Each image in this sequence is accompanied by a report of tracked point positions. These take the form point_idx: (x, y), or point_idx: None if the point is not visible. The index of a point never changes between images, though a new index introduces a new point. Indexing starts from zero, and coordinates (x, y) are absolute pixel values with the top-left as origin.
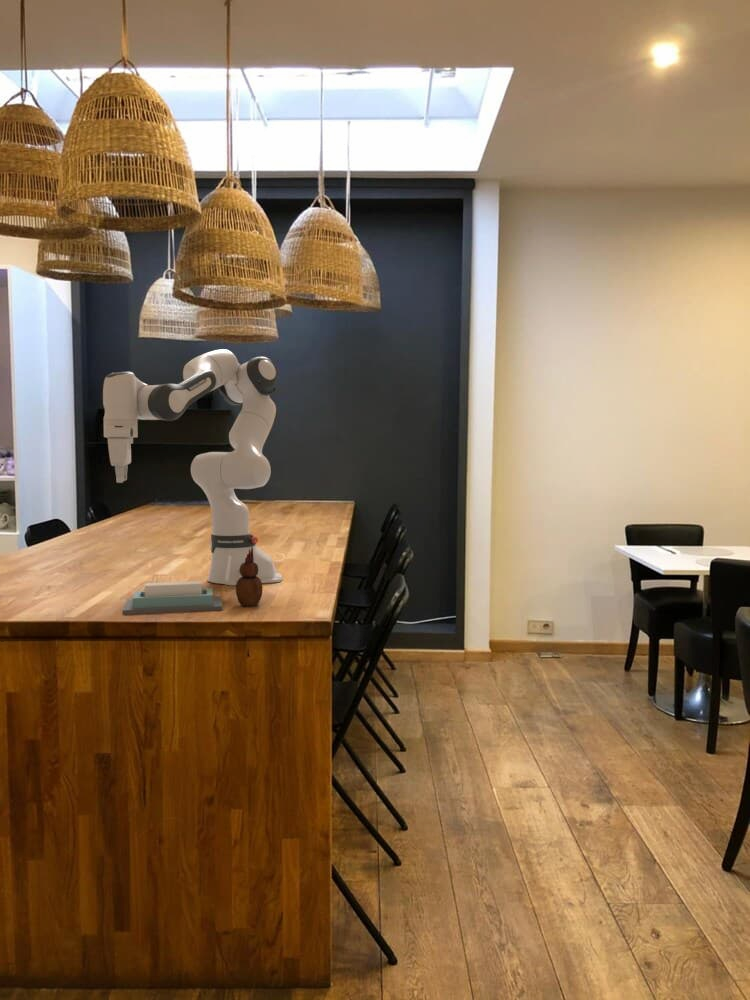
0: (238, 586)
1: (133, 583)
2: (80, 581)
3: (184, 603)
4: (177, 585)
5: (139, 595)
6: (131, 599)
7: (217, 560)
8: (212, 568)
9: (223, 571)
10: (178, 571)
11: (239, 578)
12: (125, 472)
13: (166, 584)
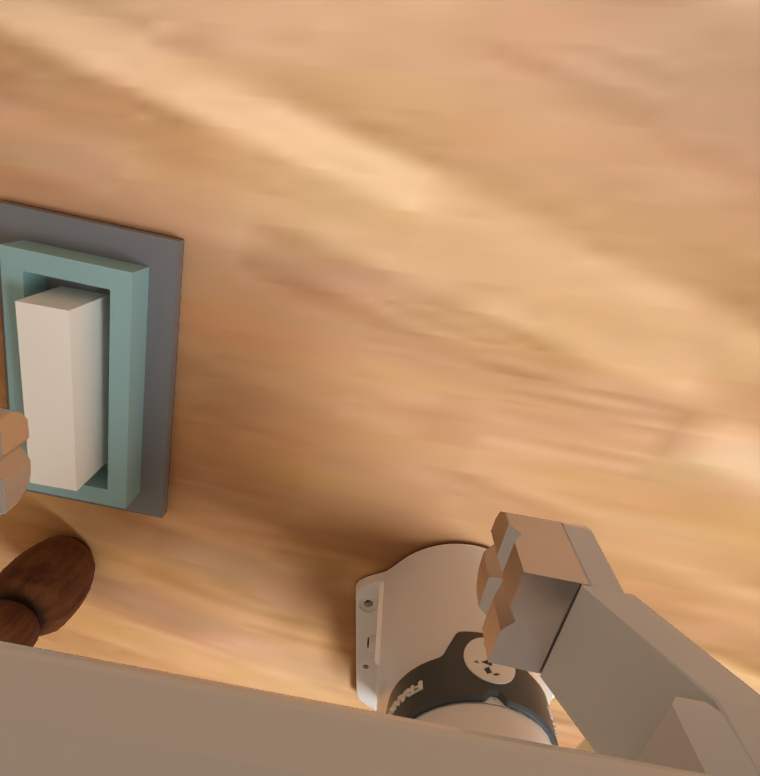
0: (11, 566)
1: (558, 313)
2: (737, 95)
3: None
4: (26, 409)
5: (46, 274)
6: (172, 255)
7: (424, 619)
8: (445, 584)
9: (392, 601)
10: (720, 502)
11: (14, 588)
12: (570, 692)
13: (32, 377)
